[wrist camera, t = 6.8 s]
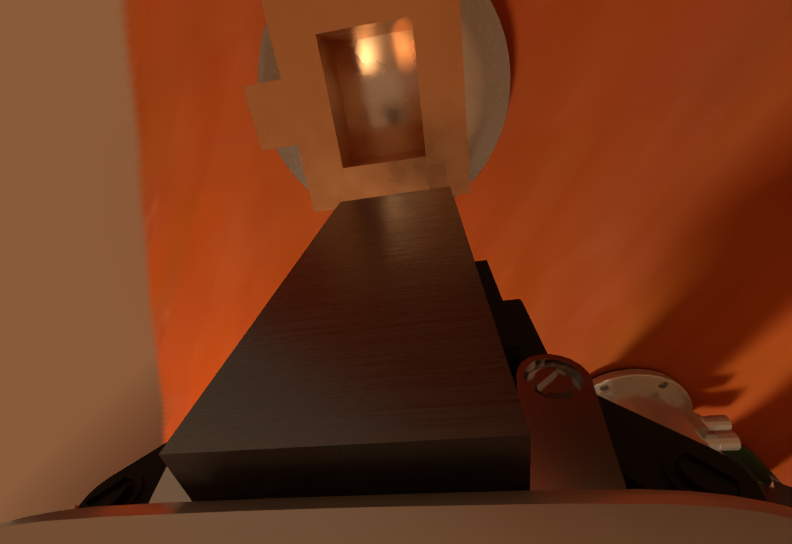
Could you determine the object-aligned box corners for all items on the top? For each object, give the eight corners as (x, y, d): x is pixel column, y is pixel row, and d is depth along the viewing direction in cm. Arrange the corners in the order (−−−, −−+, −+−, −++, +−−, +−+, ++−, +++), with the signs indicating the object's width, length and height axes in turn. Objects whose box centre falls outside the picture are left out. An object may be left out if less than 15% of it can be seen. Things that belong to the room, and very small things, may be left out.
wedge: (449, 186, 12) (530, 434, 3) (462, 324, 15) (525, 666, 6) (340, 201, 13) (159, 454, 4) (371, 333, 15) (306, 660, 7)
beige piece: (504, -88, 21) (528, -144, 16) (506, 201, 29) (523, 221, 24) (232, -26, 24) (182, -59, 19) (301, 225, 31) (278, 248, 26)
